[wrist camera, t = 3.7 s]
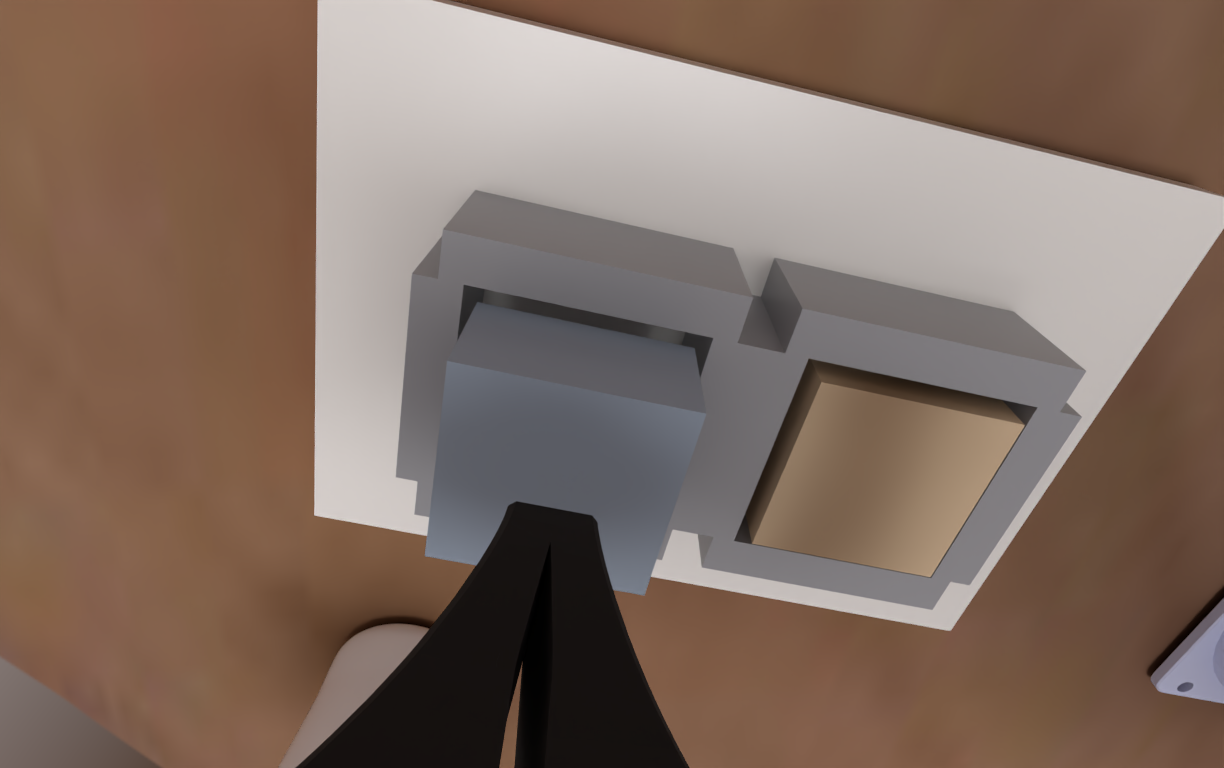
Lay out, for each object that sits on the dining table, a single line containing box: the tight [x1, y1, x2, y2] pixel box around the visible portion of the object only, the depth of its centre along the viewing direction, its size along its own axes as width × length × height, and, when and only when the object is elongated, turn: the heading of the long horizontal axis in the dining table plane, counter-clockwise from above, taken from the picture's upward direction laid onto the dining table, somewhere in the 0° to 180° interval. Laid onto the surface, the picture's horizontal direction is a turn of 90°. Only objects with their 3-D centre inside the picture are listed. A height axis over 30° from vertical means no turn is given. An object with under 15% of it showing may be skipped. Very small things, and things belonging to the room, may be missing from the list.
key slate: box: [425, 302, 706, 595], centre depth 14 cm, size 4×4×2 cm
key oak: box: [745, 359, 1025, 577], centre depth 16 cm, size 4×4×2 cm
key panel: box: [314, 0, 1224, 631], centre depth 17 cm, size 20×14×4 cm
